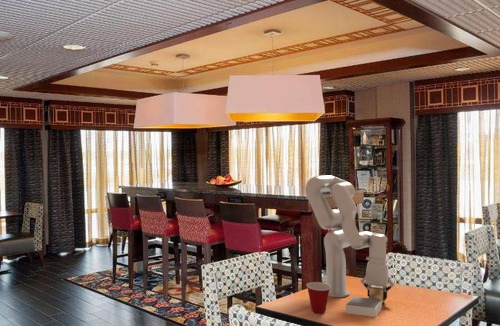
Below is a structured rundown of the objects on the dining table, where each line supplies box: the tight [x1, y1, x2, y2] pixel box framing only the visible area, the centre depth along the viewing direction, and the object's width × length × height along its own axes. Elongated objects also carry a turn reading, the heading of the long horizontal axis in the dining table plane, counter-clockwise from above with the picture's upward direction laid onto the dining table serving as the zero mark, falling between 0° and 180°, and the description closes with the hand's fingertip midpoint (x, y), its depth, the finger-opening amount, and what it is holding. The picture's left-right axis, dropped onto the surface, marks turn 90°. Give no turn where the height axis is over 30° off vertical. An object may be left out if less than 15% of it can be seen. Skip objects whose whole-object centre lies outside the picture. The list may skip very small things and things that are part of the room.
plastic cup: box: [305, 281, 331, 315], centre depth 212 cm, size 11×11×12 cm
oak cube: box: [368, 285, 385, 304], centre depth 225 cm, size 6×6×6 cm
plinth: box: [344, 296, 383, 318], centre depth 213 cm, size 13×13×4 cm
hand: (377, 298), depth 225 cm, fingers closed on oak cube, 6 cm apart
